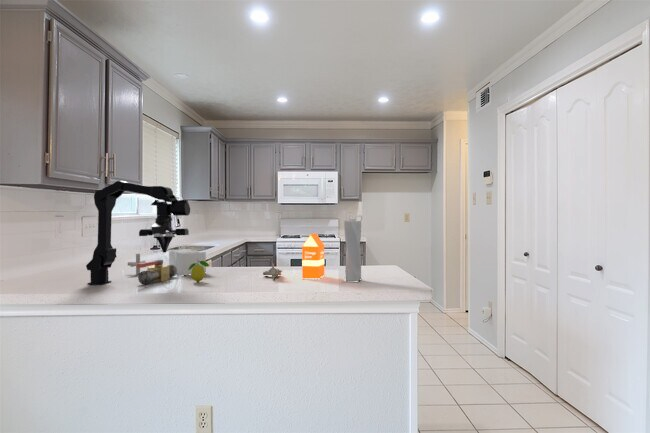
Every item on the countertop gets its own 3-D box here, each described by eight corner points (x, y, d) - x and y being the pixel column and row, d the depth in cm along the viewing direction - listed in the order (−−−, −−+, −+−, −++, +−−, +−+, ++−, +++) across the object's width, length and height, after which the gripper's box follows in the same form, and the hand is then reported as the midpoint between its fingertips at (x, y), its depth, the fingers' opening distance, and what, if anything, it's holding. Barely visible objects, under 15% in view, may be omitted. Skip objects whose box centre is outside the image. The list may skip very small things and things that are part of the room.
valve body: (152, 284, 147) (151, 267, 147) (137, 284, 148) (137, 267, 148) (177, 276, 167) (177, 261, 167) (164, 276, 167) (164, 261, 167)
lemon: (209, 281, 153) (209, 258, 153) (198, 284, 148) (198, 260, 148) (198, 280, 156) (198, 257, 156) (187, 282, 151) (187, 259, 151)
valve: (282, 279, 153) (259, 282, 154) (286, 281, 165) (265, 283, 166) (280, 262, 155) (258, 264, 155) (285, 264, 167) (264, 266, 167)
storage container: (169, 270, 188) (168, 250, 189) (190, 268, 195) (190, 248, 195) (183, 276, 169) (182, 253, 169) (205, 274, 175) (205, 252, 175)
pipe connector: (153, 272, 182) (153, 252, 182) (141, 275, 172) (141, 254, 172) (135, 272, 183) (134, 252, 183) (122, 275, 173) (121, 254, 173)
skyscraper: (364, 279, 154) (364, 215, 154) (361, 282, 146) (360, 215, 147) (345, 278, 157) (345, 215, 157) (341, 282, 149) (340, 215, 149)
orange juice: (302, 279, 156) (301, 234, 156) (308, 276, 165) (308, 233, 165) (318, 280, 154) (318, 234, 154) (324, 276, 163) (324, 233, 163)
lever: (157, 263, 159) (157, 259, 159) (164, 263, 159) (164, 259, 159) (135, 267, 145) (135, 263, 145) (143, 267, 144) (143, 263, 144)
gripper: (132, 216, 142) (133, 255, 142) (180, 215, 144) (181, 253, 144) (144, 216, 154) (144, 252, 154) (188, 215, 155) (189, 251, 155)
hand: (164, 252), depth 151 cm, fingers closed
